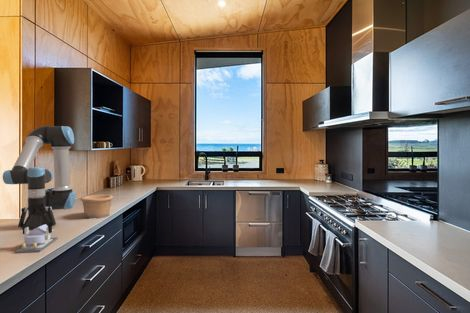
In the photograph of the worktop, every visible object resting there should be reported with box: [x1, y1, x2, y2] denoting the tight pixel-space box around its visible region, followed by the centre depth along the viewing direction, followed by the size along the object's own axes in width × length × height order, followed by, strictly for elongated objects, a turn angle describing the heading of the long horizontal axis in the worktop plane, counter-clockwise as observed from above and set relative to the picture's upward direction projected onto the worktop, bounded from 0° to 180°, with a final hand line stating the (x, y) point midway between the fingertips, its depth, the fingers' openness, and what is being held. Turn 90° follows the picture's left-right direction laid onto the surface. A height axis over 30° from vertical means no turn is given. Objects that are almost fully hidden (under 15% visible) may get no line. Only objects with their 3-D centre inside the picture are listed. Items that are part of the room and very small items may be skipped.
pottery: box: [80, 194, 114, 219], centre depth 227 cm, size 22×22×14 cm
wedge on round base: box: [23, 224, 55, 244], centre depth 159 cm, size 9×7×13 cm
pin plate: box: [14, 234, 59, 254], centre depth 159 cm, size 21×11×4 cm, turn 9°
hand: (37, 239), depth 159 cm, fingers closed on wedge on round base, 10 cm apart
